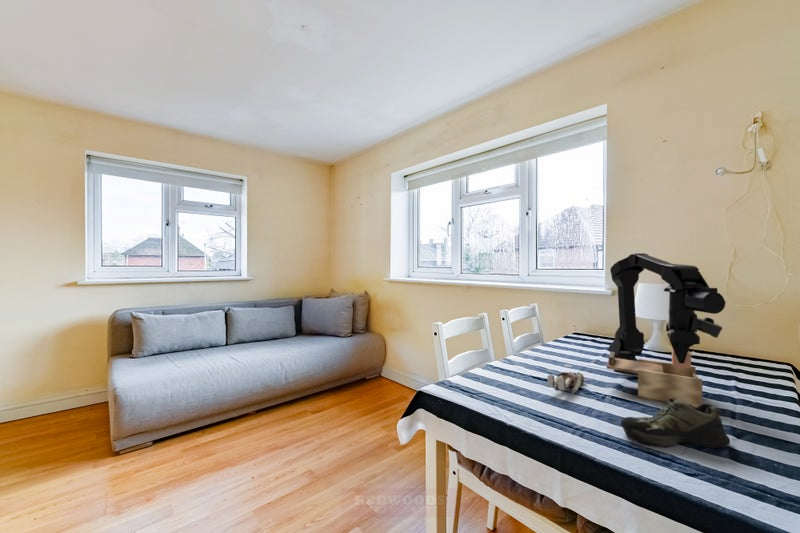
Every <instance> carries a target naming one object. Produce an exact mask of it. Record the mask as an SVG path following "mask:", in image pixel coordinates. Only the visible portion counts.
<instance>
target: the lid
mask: <svg viewBox="0 0 800 533" xmlns="http://www.w3.org/2000/svg"><path fill="white" fill-rule="evenodd" d="M606 369H608V370H619V371H625V372H631V373H636V374H637V375H638V369H640V370H647V371H653V372H659V373H664V372H663V367H662V365H660V364H654V363H647V362H640V361H638V360H637V361H633V360H626V359H619V358H615V352H610V351H609V355H608V360H607V364H606ZM619 371H618V372H619ZM625 372H624V373H625ZM631 373H630V374H631Z"/></svg>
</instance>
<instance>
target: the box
mask: <svg viewBox="0 0 800 533" xmlns="http://www.w3.org/2000/svg"><path fill="white" fill-rule="evenodd" d="M637 361H640V362H647V363H654V364H660V365H662V367H663V372H664V373H659V372H653V371H647V370H640V369H638V374H637V376H638V377H637V378H638V381H637V382H638V383H637V398H638V399H643V400H649V401H654V402H658V403H664V404H667V402H668V401H669V398H674V399H679V400H681V401H684V402H687V403H690V404H691V405H692V406H693V407H699V406H700V405H702V404H703V379H702V378H699V377H698V375H697V373H696V371H697V370H696V369H697V368H696V366H693V365H691V368H687V367H681V366H674V365H672V362H664V361H658V360H650V359H643V358H642V359H641V358H637Z"/></svg>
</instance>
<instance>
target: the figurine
mask: <svg viewBox="0 0 800 533" xmlns="http://www.w3.org/2000/svg"><path fill="white" fill-rule="evenodd" d="M546 381H547V382H546V383H547V384H546V385H547V387H550V388H554V389H555V390H556V389H557V390H561V391H566V388H569V387H572V388H571V389H572V390H571V394H572V395H574V394H575V393H577V391H578V389H579V388H580V386H581V384H583V383H585V376H584V375H583V374H582V372H581V373H580V372H579V371H578V372H572V371H568V372H567V371H566V372H561V373H560V374H558V375H557V377H556V378H555V376H554V375H552V374H548V375H547V379H546ZM573 385H574V386H573Z"/></svg>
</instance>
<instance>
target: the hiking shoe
mask: <svg viewBox="0 0 800 533" xmlns="http://www.w3.org/2000/svg"><path fill="white" fill-rule="evenodd" d="M721 413H723V411H721V410H719V409H718V408H717V407H716V406H713V405H712V404H710V403H702V405H700V406H699V407H693V406H692V405H691V404H690V403H687V402H684V401H681V400H679V399H674V398H669V401H668V402H667V403H665V405H664V406H663V408H662V409H660V410H658V411H657V412H656V413H655V414H653V416H651V417H650V416H649V417H647V416H646V417H645V416H641V417H639V416H638V417H634V416H626V417H625V418H623V419H622V420H621V422H620V424H621V426H622V427H621V428H622V429H623V431H624V433H625V435H626V437H628V439H630V440H632V441H634V442H636V443H639V444H641V445H645V446H650V447H654V448H655V447H658V448H670V447H674V446H676V445H678V444H680V443H681V444H682V443H683V444H689V445H693V446H694V445H695V446H700V447H703V448H711V449H712V448H713V449H723V448H726V447H727V446H728V445H730V444H731V439H730V438H729V436H728V435H727V433H726V430H725V427H724V425H723V422H722V419H721Z"/></svg>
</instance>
